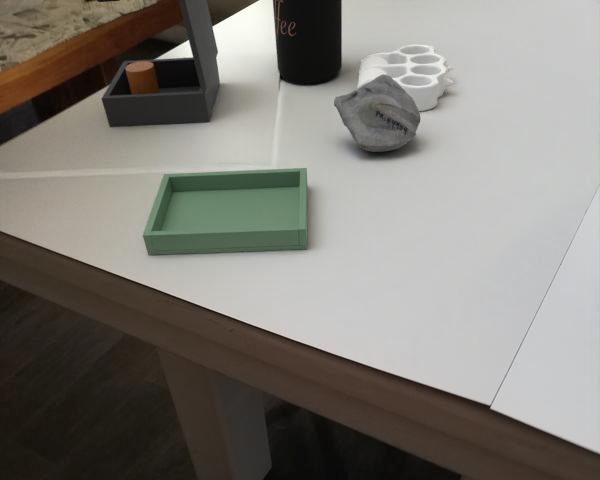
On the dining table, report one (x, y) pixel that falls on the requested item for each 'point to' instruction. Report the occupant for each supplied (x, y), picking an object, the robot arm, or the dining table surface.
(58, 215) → the dining table surface
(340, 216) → the dining table surface
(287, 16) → the coffee jar
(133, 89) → the orange cylinder
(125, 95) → the black box
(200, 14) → the lid
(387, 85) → the fossil
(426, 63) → the white multi-well holder
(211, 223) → the tray
